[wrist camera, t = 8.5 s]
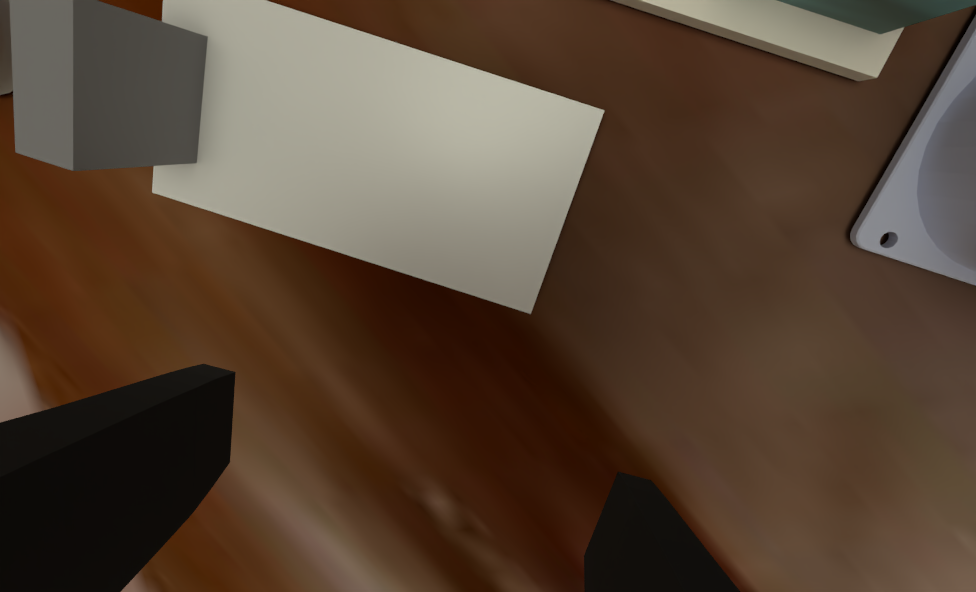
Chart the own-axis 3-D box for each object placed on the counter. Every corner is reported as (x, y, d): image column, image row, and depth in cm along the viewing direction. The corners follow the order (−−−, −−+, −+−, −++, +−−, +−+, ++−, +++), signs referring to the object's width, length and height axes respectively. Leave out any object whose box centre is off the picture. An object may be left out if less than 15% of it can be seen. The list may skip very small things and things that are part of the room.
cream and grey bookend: (601, 111, 15) (635, 96, 10) (530, 306, 17) (529, 374, 12) (183, -24, 15) (5, -109, 10) (169, 190, 17) (17, 209, 12)
